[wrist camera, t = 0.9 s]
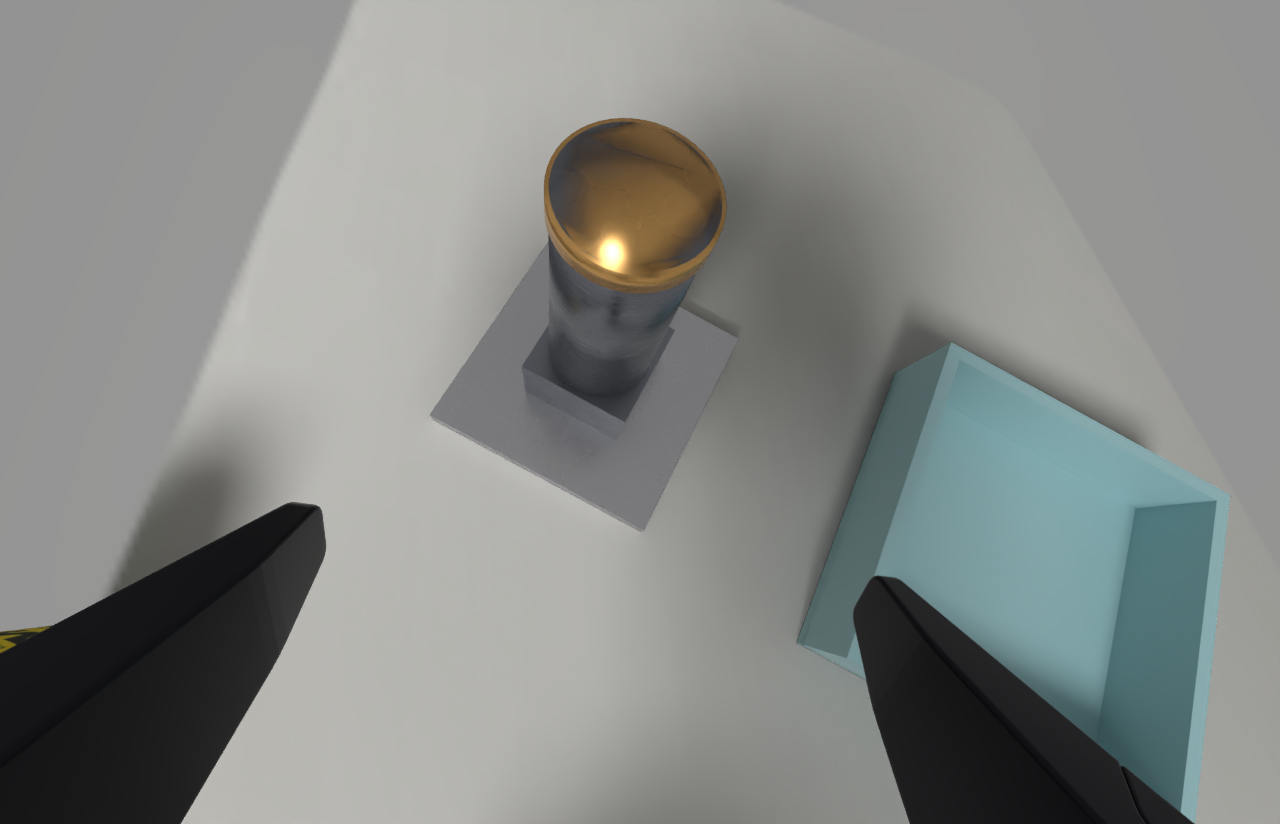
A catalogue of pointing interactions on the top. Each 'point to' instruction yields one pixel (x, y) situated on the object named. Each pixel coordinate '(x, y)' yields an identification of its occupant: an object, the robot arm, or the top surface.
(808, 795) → the top surface
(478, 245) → the top surface
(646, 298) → the grey gold-rimmed cylinder
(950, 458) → the tray
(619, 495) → the stud plate
